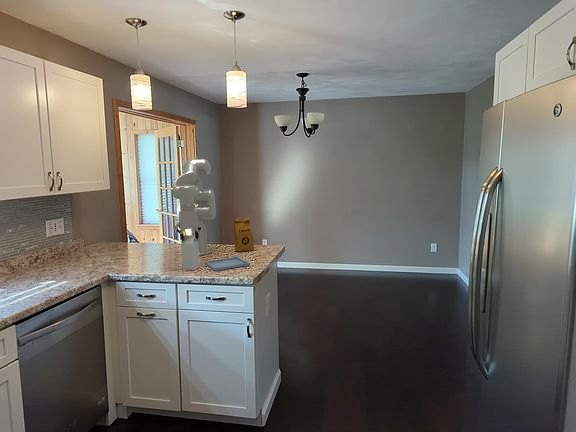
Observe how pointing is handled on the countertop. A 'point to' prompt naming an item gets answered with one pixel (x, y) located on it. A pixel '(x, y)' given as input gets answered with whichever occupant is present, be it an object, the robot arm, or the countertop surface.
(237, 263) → the tray
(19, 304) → the countertop surface
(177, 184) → the robot arm
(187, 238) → the milk carton
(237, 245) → the coffee package
